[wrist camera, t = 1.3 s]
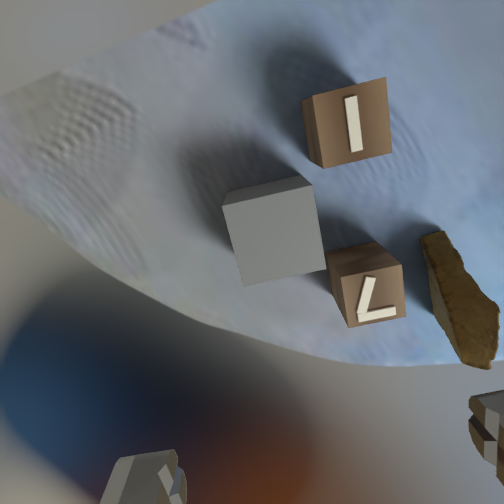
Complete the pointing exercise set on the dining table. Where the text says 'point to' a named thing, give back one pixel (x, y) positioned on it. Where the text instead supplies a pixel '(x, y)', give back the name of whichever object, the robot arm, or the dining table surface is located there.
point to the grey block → (274, 230)
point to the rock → (460, 303)
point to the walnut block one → (347, 124)
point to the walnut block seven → (366, 284)
